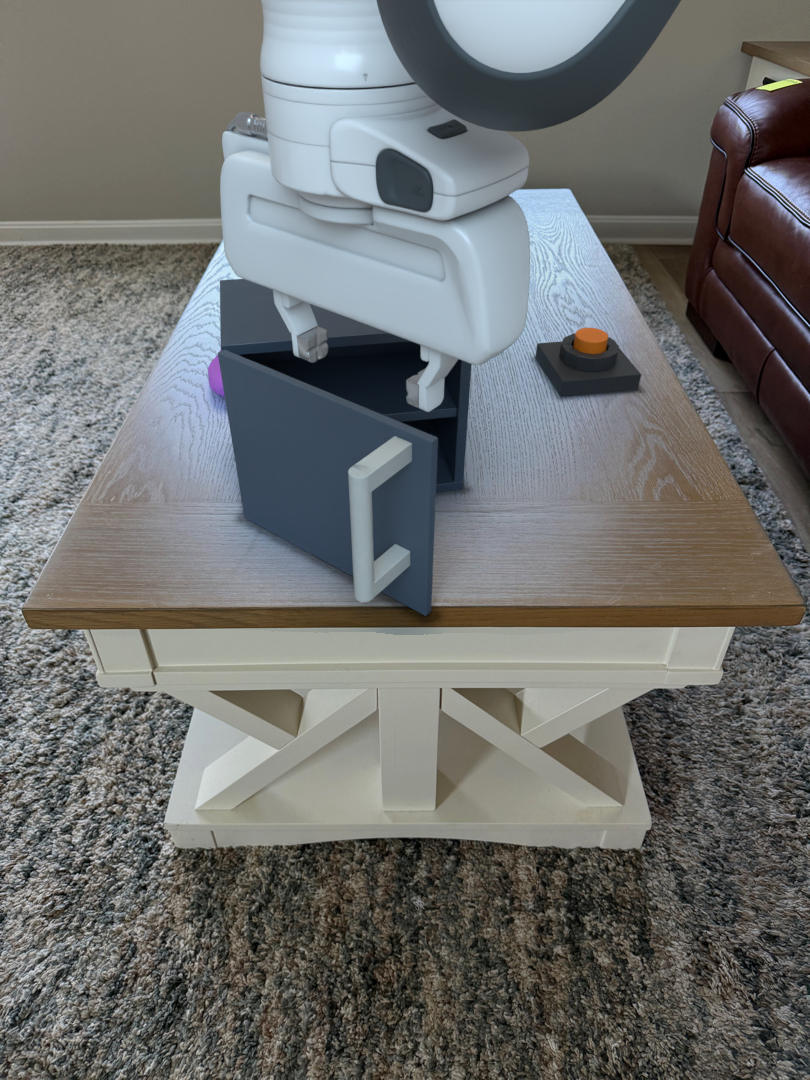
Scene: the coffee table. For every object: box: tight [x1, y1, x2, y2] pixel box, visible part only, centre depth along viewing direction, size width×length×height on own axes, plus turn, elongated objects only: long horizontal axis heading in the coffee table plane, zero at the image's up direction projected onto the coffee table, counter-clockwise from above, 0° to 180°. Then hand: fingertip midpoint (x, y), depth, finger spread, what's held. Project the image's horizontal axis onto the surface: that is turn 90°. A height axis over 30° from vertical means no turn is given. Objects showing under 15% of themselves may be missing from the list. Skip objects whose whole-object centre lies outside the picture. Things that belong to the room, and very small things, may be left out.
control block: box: [535, 332, 642, 398], centre depth 98 cm, size 10×10×4 cm
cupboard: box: [219, 278, 473, 493], centre depth 79 cm, size 14×22×18 cm, turn 100°
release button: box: [573, 327, 609, 354], centre depth 97 cm, size 4×4×2 cm
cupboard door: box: [217, 350, 438, 617], centre depth 65 cm, size 7×22×18 cm, turn 53°
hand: (365, 379), depth 49 cm, fingers open, 8 cm apart
